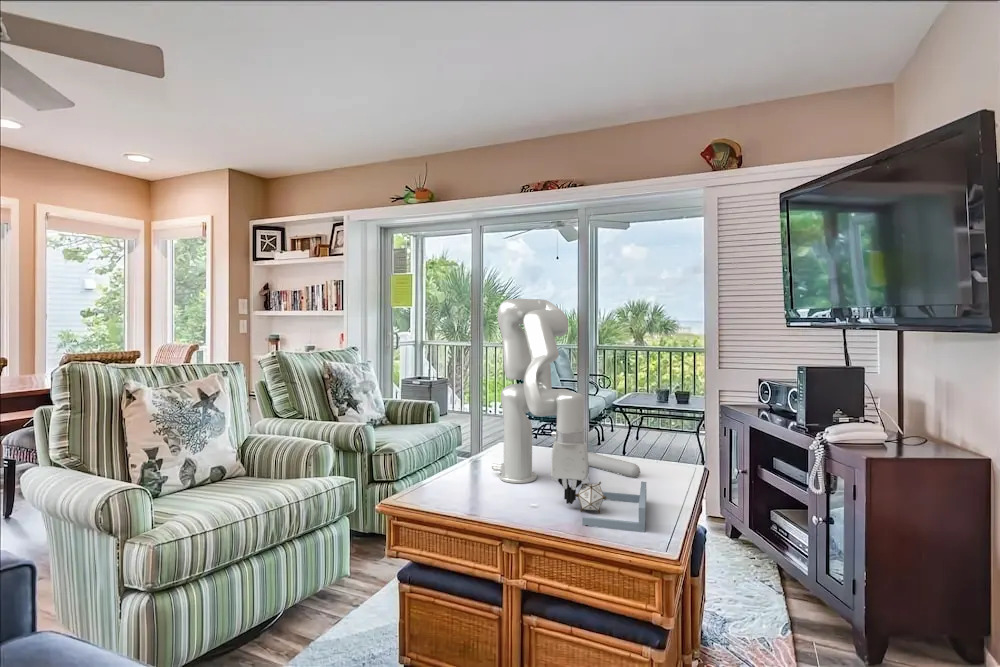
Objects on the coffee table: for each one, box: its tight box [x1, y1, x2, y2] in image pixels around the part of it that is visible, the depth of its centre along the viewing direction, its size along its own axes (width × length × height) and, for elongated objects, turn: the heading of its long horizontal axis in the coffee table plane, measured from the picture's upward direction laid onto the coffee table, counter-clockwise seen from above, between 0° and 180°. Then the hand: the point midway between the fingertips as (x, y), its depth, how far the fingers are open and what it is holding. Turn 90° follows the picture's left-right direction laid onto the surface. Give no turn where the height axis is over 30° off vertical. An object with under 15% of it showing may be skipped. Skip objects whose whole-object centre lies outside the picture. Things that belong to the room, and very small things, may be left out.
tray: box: [581, 480, 647, 533], centre depth 145 cm, size 16×23×6 cm
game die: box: [575, 481, 607, 514], centre depth 147 cm, size 9×8×10 cm
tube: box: [588, 451, 641, 479], centre depth 188 cm, size 5×5×25 cm
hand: (570, 502), depth 149 cm, fingers closed
